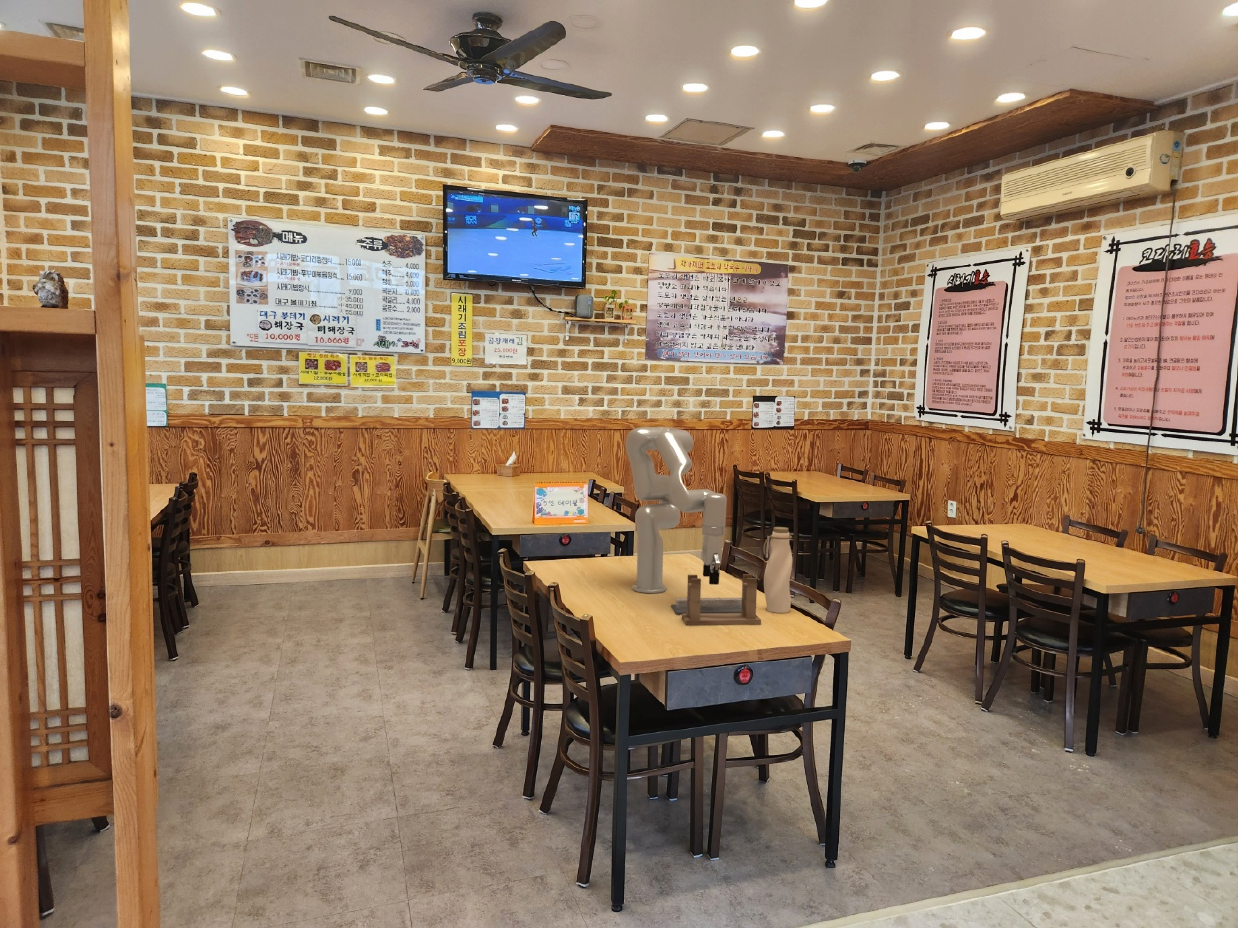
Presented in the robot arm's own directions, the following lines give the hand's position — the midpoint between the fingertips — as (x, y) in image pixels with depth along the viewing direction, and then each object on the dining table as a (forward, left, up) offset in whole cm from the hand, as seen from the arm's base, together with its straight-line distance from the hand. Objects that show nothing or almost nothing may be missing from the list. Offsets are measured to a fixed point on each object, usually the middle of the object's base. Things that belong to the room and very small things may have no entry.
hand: (710, 580), depth 266 cm
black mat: (+1, +1, -10) cm, 10 cm away
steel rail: (+1, 0, -9) cm, 9 cm away
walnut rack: (+14, +1, -10) cm, 17 cm away
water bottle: (+2, +23, -10) cm, 25 cm away
